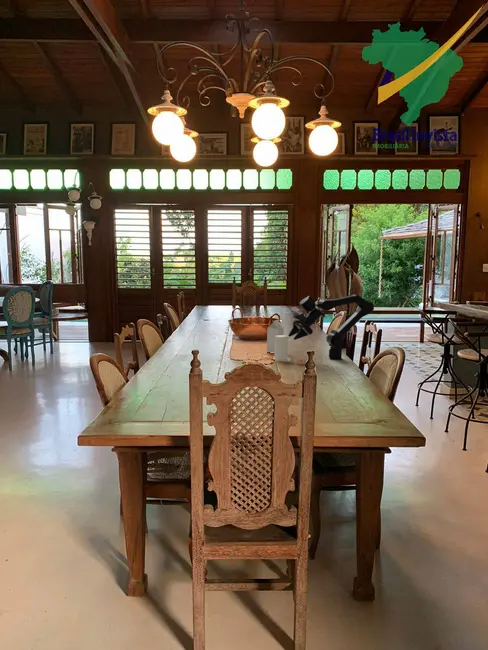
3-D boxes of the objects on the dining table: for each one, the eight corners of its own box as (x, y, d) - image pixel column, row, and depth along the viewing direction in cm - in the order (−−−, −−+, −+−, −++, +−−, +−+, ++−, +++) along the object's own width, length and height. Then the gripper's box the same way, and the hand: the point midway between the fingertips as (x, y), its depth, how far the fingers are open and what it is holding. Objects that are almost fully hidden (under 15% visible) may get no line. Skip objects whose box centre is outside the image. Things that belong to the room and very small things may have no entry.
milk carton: (266, 353, 280) (267, 320, 277) (271, 351, 287) (272, 319, 284) (277, 355, 277) (279, 321, 274) (282, 352, 283) (284, 320, 280)
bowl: (303, 364, 258) (304, 359, 257) (304, 365, 254) (304, 361, 253) (295, 363, 258) (295, 358, 258) (295, 365, 254) (295, 360, 254)
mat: (290, 358, 270) (290, 357, 270) (290, 362, 260) (290, 361, 260) (272, 357, 271) (272, 356, 271) (271, 361, 261) (271, 360, 261)
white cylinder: (285, 357, 270) (286, 335, 268) (289, 360, 263) (290, 337, 261) (273, 357, 268) (273, 335, 266) (276, 360, 262) (277, 337, 260)
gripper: (296, 305, 273) (276, 324, 272) (308, 309, 255) (286, 330, 254) (309, 319, 275) (289, 338, 275) (321, 324, 257) (300, 345, 257)
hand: (291, 337), depth 265 cm, fingers open, 9 cm apart
